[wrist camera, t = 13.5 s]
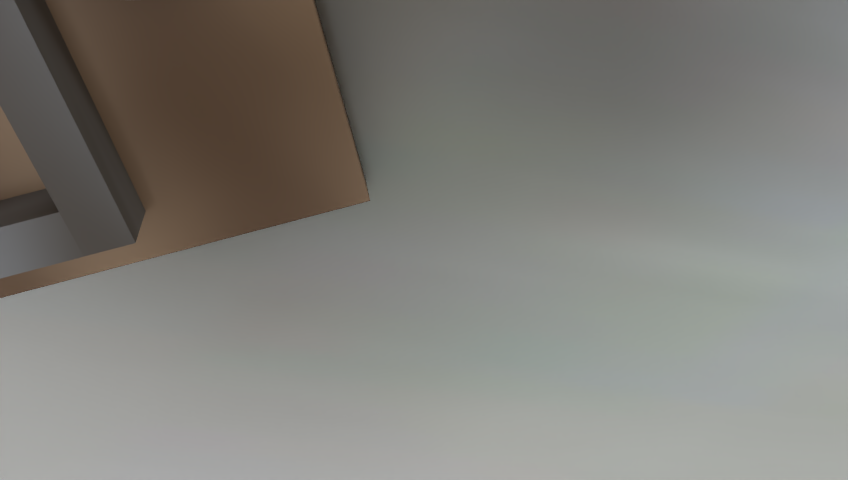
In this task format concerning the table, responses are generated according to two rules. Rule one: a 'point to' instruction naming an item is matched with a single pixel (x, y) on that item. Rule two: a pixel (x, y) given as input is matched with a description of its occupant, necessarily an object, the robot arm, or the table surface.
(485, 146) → the table surface
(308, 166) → the carrier board
